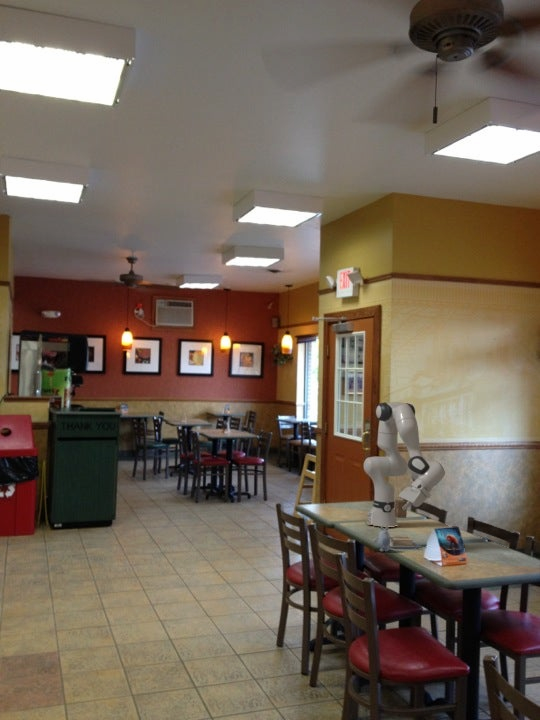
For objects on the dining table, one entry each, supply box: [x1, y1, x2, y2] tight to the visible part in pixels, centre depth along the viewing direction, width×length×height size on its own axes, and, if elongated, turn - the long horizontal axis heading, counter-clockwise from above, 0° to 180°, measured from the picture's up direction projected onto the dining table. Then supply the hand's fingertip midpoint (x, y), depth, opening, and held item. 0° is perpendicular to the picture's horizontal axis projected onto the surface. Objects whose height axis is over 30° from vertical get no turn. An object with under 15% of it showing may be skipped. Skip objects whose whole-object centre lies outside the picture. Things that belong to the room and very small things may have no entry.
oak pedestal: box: [389, 534, 414, 546], centre depth 329 cm, size 10×10×3 cm
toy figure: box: [373, 526, 394, 552], centre depth 316 cm, size 11×6×12 cm, turn 101°
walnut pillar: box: [394, 499, 408, 519], centre depth 330 cm, size 4×4×8 cm
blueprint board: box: [389, 541, 423, 550], centre depth 330 cm, size 16×16×1 cm
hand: (400, 508), depth 330 cm, fingers closed on walnut pillar, 4 cm apart
